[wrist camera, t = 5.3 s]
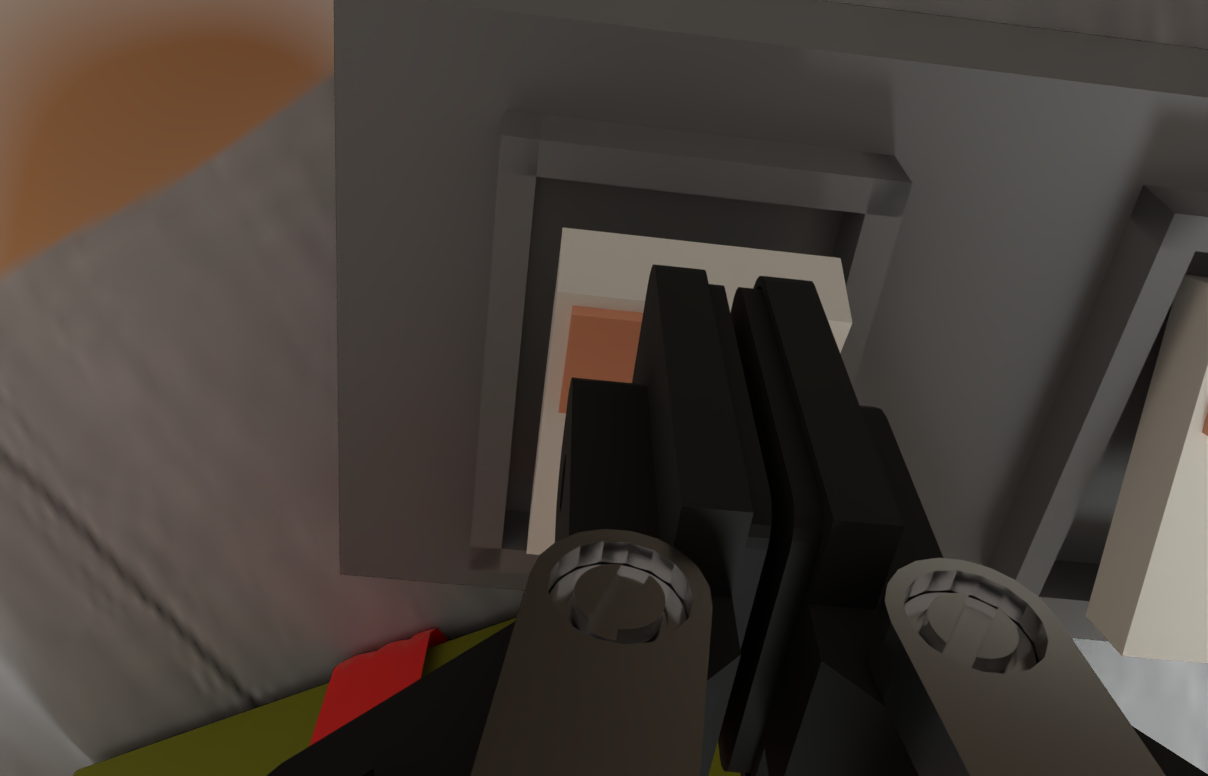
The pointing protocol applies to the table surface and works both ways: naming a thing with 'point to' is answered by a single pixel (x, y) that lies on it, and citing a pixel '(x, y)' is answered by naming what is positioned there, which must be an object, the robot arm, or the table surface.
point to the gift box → (301, 715)
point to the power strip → (761, 246)
